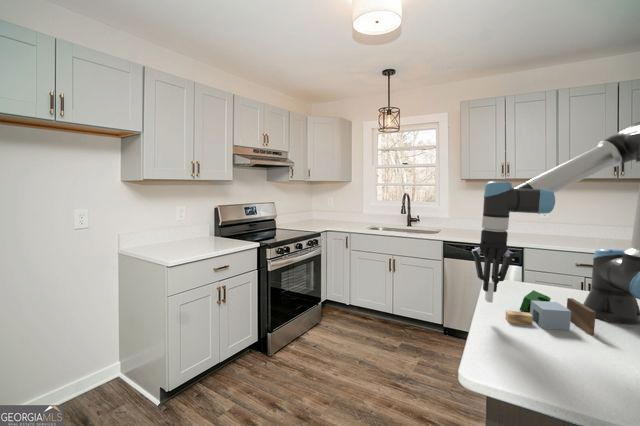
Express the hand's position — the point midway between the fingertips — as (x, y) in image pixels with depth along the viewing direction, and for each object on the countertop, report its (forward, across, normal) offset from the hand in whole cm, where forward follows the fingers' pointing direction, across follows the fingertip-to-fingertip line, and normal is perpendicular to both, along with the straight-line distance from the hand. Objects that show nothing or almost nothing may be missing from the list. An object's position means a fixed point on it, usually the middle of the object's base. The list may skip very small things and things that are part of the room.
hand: (488, 300), depth 110 cm
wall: (+6, -27, 0) cm, 28 cm away
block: (+6, -18, 0) cm, 19 cm away
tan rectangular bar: (+6, -10, 0) cm, 11 cm away
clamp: (+6, -19, -11) cm, 23 cm away
